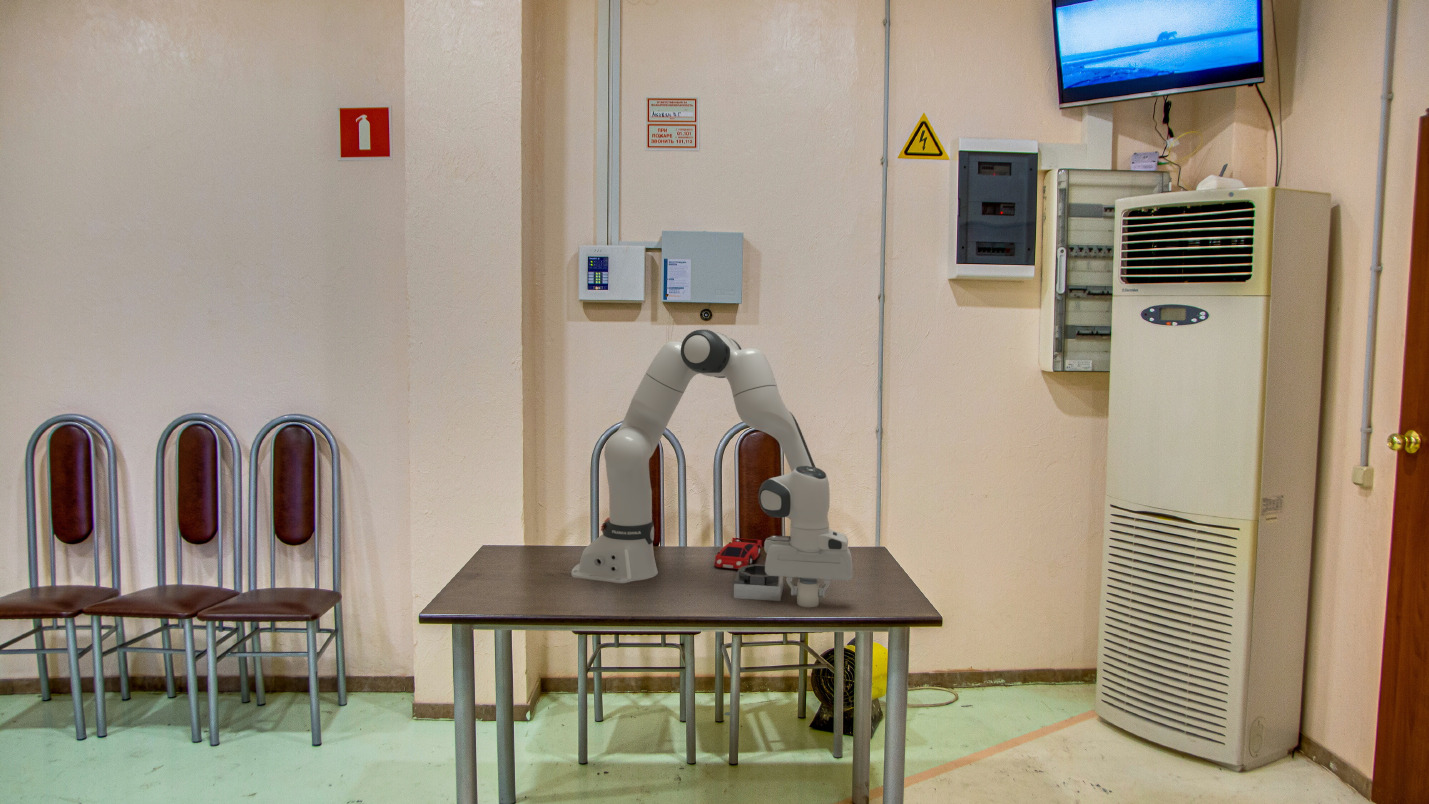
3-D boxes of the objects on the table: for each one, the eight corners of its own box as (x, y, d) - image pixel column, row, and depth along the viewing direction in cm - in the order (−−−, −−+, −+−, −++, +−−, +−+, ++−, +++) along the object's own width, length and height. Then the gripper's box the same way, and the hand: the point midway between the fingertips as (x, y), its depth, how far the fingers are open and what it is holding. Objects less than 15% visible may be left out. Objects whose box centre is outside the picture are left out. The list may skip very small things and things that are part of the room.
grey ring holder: (733, 600, 186) (734, 575, 185) (739, 586, 196) (739, 562, 195) (780, 603, 184) (780, 578, 184) (783, 589, 194) (783, 565, 194)
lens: (796, 609, 180) (796, 582, 180) (797, 602, 185) (798, 575, 185) (818, 611, 179) (818, 584, 179) (818, 603, 184) (819, 577, 184)
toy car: (711, 570, 209) (711, 552, 209) (728, 549, 229) (728, 533, 228) (750, 573, 207) (750, 555, 206) (763, 552, 226) (763, 535, 226)
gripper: (763, 538, 179) (762, 597, 181) (853, 543, 176) (852, 603, 177) (765, 531, 185) (764, 588, 187) (853, 536, 182) (851, 593, 184)
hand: (807, 595), depth 182 cm, fingers closed on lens, 5 cm apart
